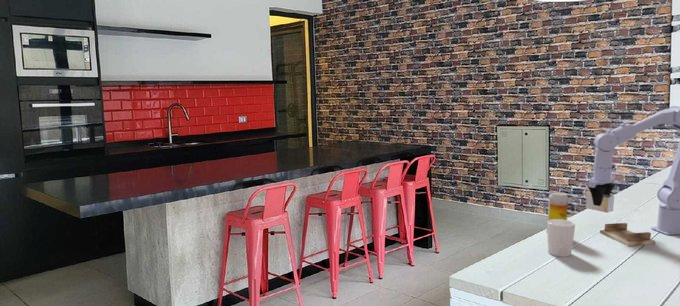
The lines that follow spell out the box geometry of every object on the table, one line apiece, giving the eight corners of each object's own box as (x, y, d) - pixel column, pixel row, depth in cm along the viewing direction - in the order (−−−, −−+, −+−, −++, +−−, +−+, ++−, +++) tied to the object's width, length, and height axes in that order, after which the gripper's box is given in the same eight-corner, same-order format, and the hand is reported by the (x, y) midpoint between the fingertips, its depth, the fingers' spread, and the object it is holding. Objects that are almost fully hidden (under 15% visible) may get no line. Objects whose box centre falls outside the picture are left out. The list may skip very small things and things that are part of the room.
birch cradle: (625, 231, 188) (625, 221, 187) (654, 243, 174) (655, 233, 174) (599, 232, 186) (600, 223, 186) (628, 245, 173) (628, 235, 172)
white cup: (571, 250, 169) (573, 220, 167) (574, 258, 161) (576, 227, 160) (545, 247, 171) (547, 218, 169) (546, 256, 164) (548, 224, 162)
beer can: (567, 239, 180) (570, 196, 177) (548, 238, 181) (550, 195, 179) (563, 233, 186) (566, 192, 183) (545, 232, 187) (547, 191, 184)
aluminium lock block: (591, 206, 195) (592, 191, 195) (613, 210, 189) (614, 195, 188) (585, 208, 193) (586, 193, 192) (607, 212, 187) (608, 197, 186)
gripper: (602, 163, 196) (599, 199, 198) (581, 168, 187) (578, 205, 190) (621, 166, 190) (618, 202, 192) (600, 170, 182) (598, 209, 184)
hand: (600, 204), depth 191 cm, fingers closed on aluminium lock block, 4 cm apart
